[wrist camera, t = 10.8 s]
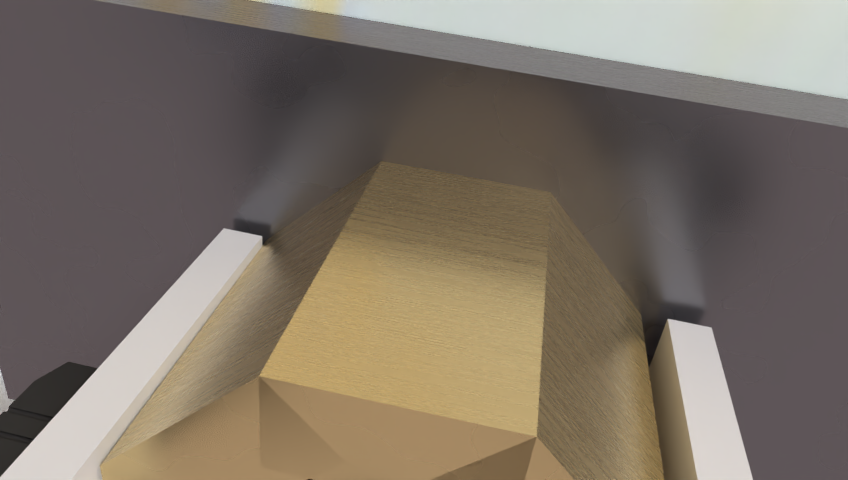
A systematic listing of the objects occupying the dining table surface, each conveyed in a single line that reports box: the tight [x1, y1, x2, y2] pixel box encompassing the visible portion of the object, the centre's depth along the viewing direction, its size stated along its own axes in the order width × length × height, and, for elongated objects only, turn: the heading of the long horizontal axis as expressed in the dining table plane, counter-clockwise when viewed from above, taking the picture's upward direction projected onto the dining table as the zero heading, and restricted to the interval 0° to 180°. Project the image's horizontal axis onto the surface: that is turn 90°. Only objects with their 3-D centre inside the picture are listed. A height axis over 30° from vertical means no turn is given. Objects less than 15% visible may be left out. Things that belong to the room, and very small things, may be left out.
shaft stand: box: [0, 0, 848, 480], centre depth 11 cm, size 20×10×8 cm, turn 83°
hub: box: [100, 161, 664, 480], centre depth 11 cm, size 7×7×6 cm
